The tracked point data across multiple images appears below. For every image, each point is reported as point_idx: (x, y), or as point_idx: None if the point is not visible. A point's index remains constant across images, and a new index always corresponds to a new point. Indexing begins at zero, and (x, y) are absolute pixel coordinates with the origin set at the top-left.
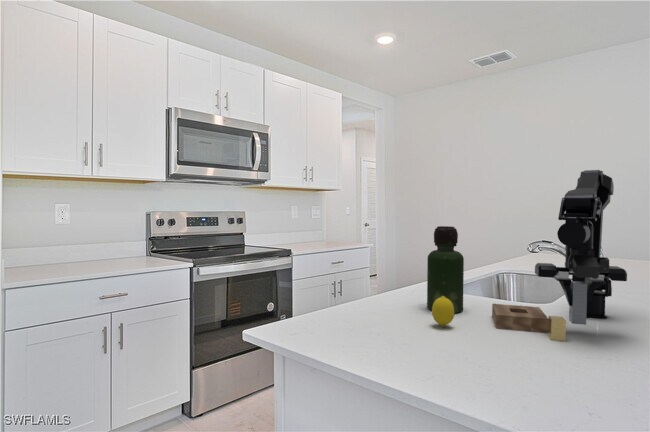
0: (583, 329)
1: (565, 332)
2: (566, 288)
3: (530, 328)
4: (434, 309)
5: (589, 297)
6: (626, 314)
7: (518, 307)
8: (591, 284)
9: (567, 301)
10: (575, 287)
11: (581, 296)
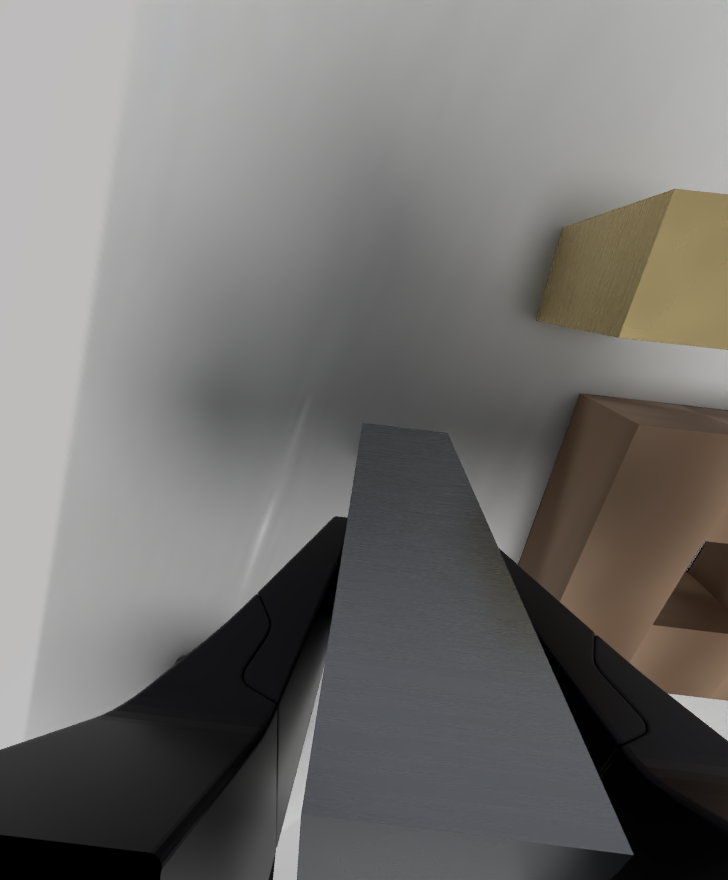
0: (340, 496)
1: (598, 216)
2: (662, 709)
3: (694, 412)
4: None
5: (302, 571)
6: (91, 712)
7: (673, 657)
8: (212, 774)
9: None
10: (533, 718)
11: (406, 571)
